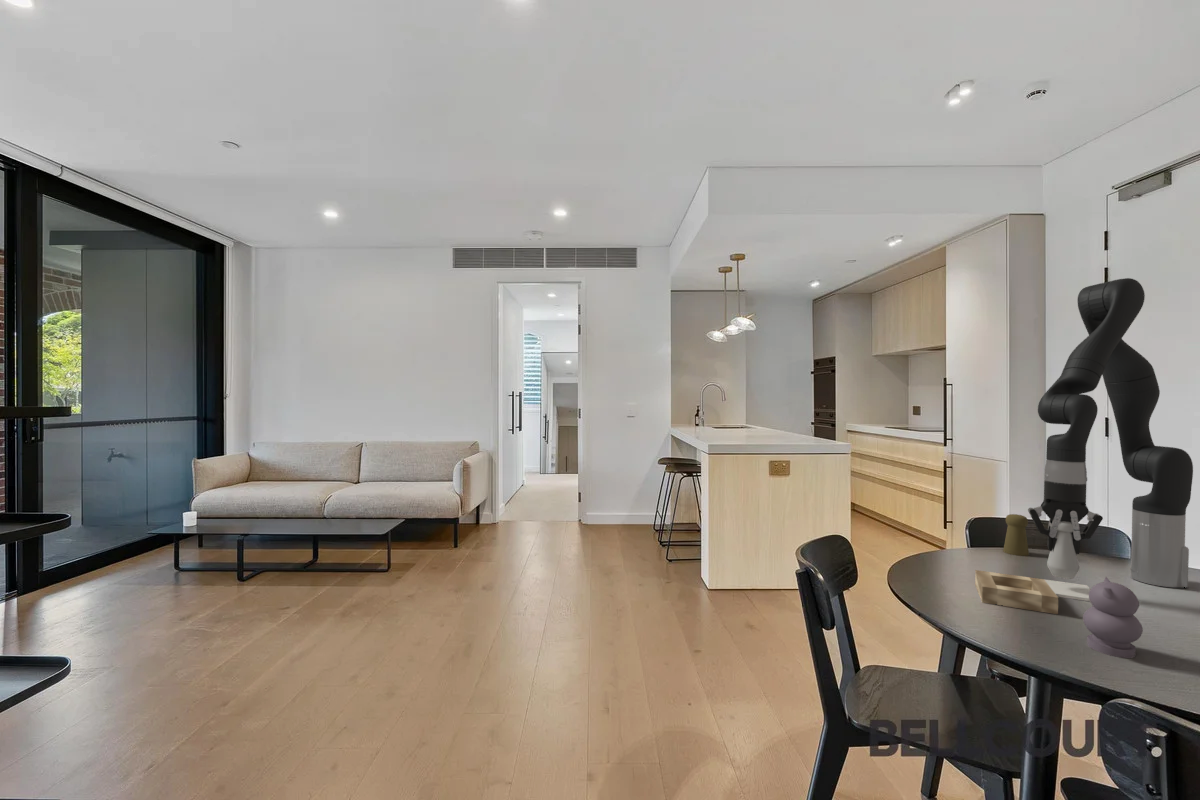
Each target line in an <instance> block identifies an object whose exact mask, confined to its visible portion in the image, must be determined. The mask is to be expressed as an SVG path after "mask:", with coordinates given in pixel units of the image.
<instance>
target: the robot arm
mask: <svg viewBox="0 0 1200 800" xmlns="http://www.w3.org/2000/svg"><path fill="white" fill-rule="evenodd" d="M1145 299H1146V294H1145V290H1144V287H1143V285H1142V284H1141V283H1140V282H1139V281H1138V280H1137V279H1134V278H1130V277H1127V278H1119V279H1114V280H1109V281H1106V282H1101V283H1097V284H1094V285H1093V284H1092V285H1088V286H1085V287H1083V288H1082V289H1080V291H1079V293H1078V295H1077V307H1078V308H1077V309H1078V311H1079V315H1080V318H1081V320H1082V323H1083V324H1084V327H1085V329H1086V331H1087V334H1088V335H1087V337H1086V338H1084V339H1083V340H1082V341H1081V342H1080V343H1079V344H1078V345H1077V346H1076V347H1075V348H1074V349H1073V350H1072V351H1071V353H1070V354H1069V356H1068V358H1067V360H1066V362H1065V365H1064V367H1063V369H1062V372H1061V374H1060V376H1059V377H1058V378H1057V379H1056V380H1055V382H1054V383H1053V384H1052V385H1051V386H1050V387H1049V388H1048V389H1047V390H1046V392H1045V393H1044V394H1043V396H1042V397H1041V398H1040V400H1039V402H1038V404H1037V405H1038V406H1037V415H1038V416H1039V418H1040V419H1041V421H1043V422H1044V423H1047V424H1053V425H1068V426H1069V425H1070V426H1069V428H1068V430H1067V431H1065V432H1064V433H1058V434H1052V435H1050V436H1048V437H1047V440H1046V450H1045V451H1046V453H1045V454H1046V456H1045V457H1046V458H1045V465H1044V473H1043V475H1044V477H1043V479H1044V481H1043V502H1042V503H1041V504H1040V506H1037V507H1029V508H1028V509H1027V511H1028V513H1029V516H1030V518H1031V520H1032V521H1033V523H1034V526H1035V527H1036V530H1037V531H1038V532H1039V533H1040V534H1041V535H1045V536H1046V537H1047V545H1046V547H1047V550H1048V551H1049V552H1050V551H1052V549H1053V551H1054V548H1055V544H1056V541H1057V538H1055V537H1056V533H1057V530H1056V528H1058V525H1059V524H1060V521H1066V522H1071V523H1072V525H1073V530H1074V532H1072V533H1073V546H1074V550H1075V553H1076V554H1077V555H1079V554H1080V553H1081V541H1082V540H1085V539H1087V540H1088V539H1091V538H1092V537H1093V534H1094V533H1095V531H1096V530H1097V529H1098V527H1099V525H1101V522H1102V521H1103V520H1104V518H1103V516H1102V515H1100V514H1099V513H1094V512H1092V511H1090V510H1089V507H1088V506H1087V481H1088V477H1087V473H1088V472H1087V463H1086V461H1087V460H1086V459H1087V458H1086V457H1087V456H1086V455H1087V448H1086V447H1087V443H1088V440H1089V437H1090V434H1091V431H1092V428H1093V426H1094V423H1095V421H1096V419H1097V415H1098V410H1099V409H1098V405H1097V401H1096V400H1095V399H1094V397H1092V396H1090V395H1088V394H1086V393H1090V392H1093V391H1095V389H1097V387H1098V385H1099V383H1100V381H1101V378H1102V377H1103V378H1102V379H1103V382H1104V386H1105V389H1106V392H1107V396H1108V398H1109V401H1110V405H1111V408H1112V412H1113V415H1114V419H1115V423H1116V427H1117V428H1116V429H1117V432H1118V438H1119V444H1120V450H1121V456H1122V457H1121V458H1122V462H1123V465H1124V468H1125V471H1126V472H1127V474H1128V475H1129V476H1130V477H1131V478H1132V479H1134V480H1137V481H1139V482H1145V483H1150V484H1152V487H1151V491H1150V492H1149V493H1147V494H1145V495H1140V496H1135V497H1133V499H1132V506H1131V507H1132V509H1131V510H1132V511H1131V548H1130V549H1131V551H1130V552H1131V553H1130V555H1131V556H1130V577H1131V579H1133V580H1135V581H1138V582H1141V583H1145V584H1148V585H1153V586H1159V587H1167V588H1184V587H1185V589H1188V588H1189V562H1190V561H1189V558H1190V557H1189V556H1190V549H1189V547H1188V546H1186V520H1187V519H1186V516H1187V515H1186V513H1187V512H1186V511H1187V508H1188V506H1189V504H1190V501H1191V498H1192V497H1191V496H1192V485H1193V477H1194V465H1193V460H1192V458H1191V456H1190V454H1189V453H1188V452H1187V451H1186V450H1184V449H1183V448H1178V447H1172V446H1171V447H1170V446H1162V445H1161V446H1160V445H1155V444H1154V441H1153V439H1152V434H1151V430H1150V420H1151V417H1152V415H1153V413H1154V411H1155V409H1156V406H1157V405H1158V404H1157V403H1158V402H1159V398H1160V392H1161V391H1160V386H1159V383H1158V380H1157V379H1158V378H1157V376H1156V372H1155V369H1154V367H1153V365H1152V364H1151V363H1150V361H1149V360H1148V359H1147V358H1146V357H1144V356H1143V355H1142V354H1140V353H1139V352H1138V351H1137V350H1136V349H1135V348H1133V347H1132V346H1130V345H1129V344H1128V343H1127V342H1126V341H1124V340H1123V337H1124V336H1125V334H1126V333H1127V332H1128V330H1129V329H1130V327H1131V326H1132V324H1133V322H1134V321H1135V319H1137V316H1138V315H1139V313H1140V312H1141V309H1142V308H1143V307H1144V306H1143V305H1144V303H1145ZM1042 512H1044V513H1045V515H1046V516H1047V518H1048V519H1049V520H1048V526H1047V528H1045V526H1044V523H1043V522H1042V520H1041V519H1040V518H1041V517H1042V515H1043V514H1042ZM1085 517H1087V518H1086V519H1087V521H1088V522H1087V523H1086V524H1085V526H1084V527H1083V530H1082V531H1080V521H1081V520H1083V519H1084V518H1085ZM1186 587H1187V588H1186Z"/></svg>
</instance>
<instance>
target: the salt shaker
mask: <svg viewBox="0 0 1200 800" xmlns="http://www.w3.org/2000/svg"><path fill="white" fill-rule="evenodd" d="M1056 530H1057V533H1056V537H1055V538H1057V541H1056V544H1055V548H1054V551H1053V549H1052V551H1050V550H1049V555H1048V558H1047V562H1046V566H1047V568H1048V569H1049V571H1050V573H1051V575H1052V576H1053V577H1056V578H1060V579H1067V580H1072V579H1075V577H1076V575H1077V574H1078V573H1079V571H1080V564H1079V560H1078V554H1076V553H1075V550H1074V546H1073V533H1072V532H1074V530H1073V525H1072V523H1071V522H1066V521H1060V524H1059V525H1058V528H1056Z"/></svg>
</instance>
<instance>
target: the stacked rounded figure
mask: <svg viewBox="0 0 1200 800" xmlns="http://www.w3.org/2000/svg"><path fill="white" fill-rule="evenodd" d="M1089 599H1090V601H1089V602H1090V603H1091V605H1092V606H1090V607H1088V608H1087V609H1086V610H1085V611H1084V613H1083V615H1082V620H1083V624H1084V625H1085V628H1086V629H1087V630H1088V631H1089V632H1090V633H1091V634H1089V635H1087V638H1086V644H1087V647H1089V648H1090V649H1093V650H1094V651H1096V652H1099V653H1101V654H1103V655H1104V654H1105V655H1109V656H1111V657H1117V658H1123V659H1124V658H1125V659H1128V658H1129V659H1131V658H1135V657H1136V651H1137V650H1136V646H1135V645H1134V644H1133V643H1134V642H1136V641H1138V640H1139V639H1140V638H1141V636H1142V635H1143V632H1144V629H1143V626H1142V623H1141V622H1140V620H1139V619H1138V618H1137V617H1136V616H1135V614H1136V613H1137V612H1138V610H1139V607H1140V601H1139V599H1138V597H1137V595H1136V594H1135V593H1134V592H1133V591H1132V590H1131V589H1130V588H1129V587H1127V586H1125V585H1122V584H1121V583H1118V582H1112V581H1110V579H1109V578H1108V577H1107V576H1105V578H1104V580H1103V582H1099V583H1096V584H1094V585H1093V586H1092V587H1091V588H1090V591H1089Z"/></svg>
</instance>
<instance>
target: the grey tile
mask: <svg viewBox="0 0 1200 800" xmlns="http://www.w3.org/2000/svg"><path fill="white" fill-rule="evenodd" d="M1044 580H1045V581H1046V582H1047V584H1048V585H1049V586H1050V588H1051V589H1052V590H1053V591H1054V593H1055V594H1056V595H1057V597H1058V598H1065V599H1072V600H1079V601H1085V602H1090V599H1089V591H1090V589H1091V588H1090V587H1089V586H1088V585H1087V584H1079V583H1073V582H1067V581H1065V582H1064V581H1059V580H1058V581H1057V580H1053V579H1051V580H1050V579H1044Z"/></svg>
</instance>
